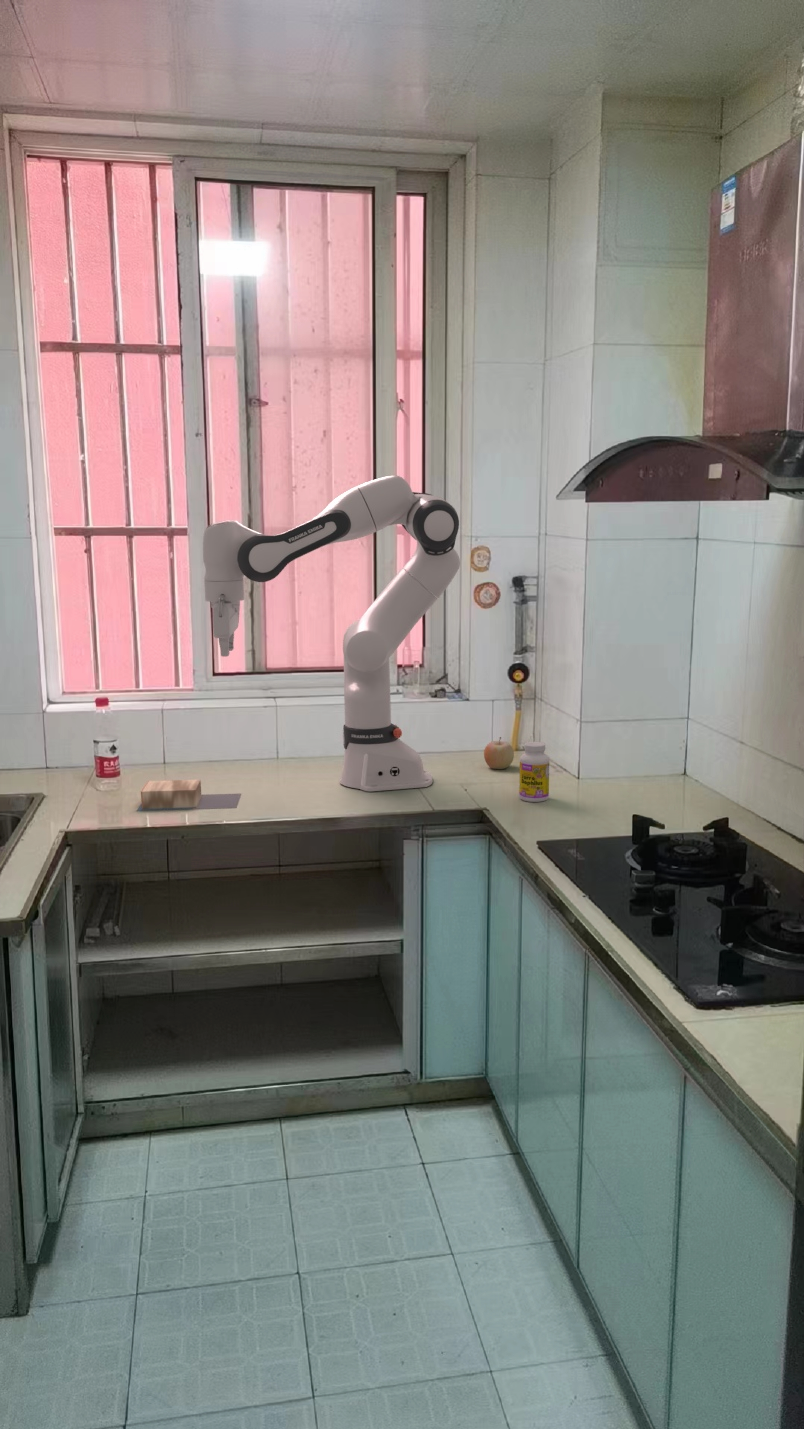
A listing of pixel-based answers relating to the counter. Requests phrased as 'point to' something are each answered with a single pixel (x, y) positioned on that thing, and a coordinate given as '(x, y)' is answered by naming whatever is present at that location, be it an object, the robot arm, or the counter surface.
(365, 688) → the robot arm
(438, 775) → the counter surface
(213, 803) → the rubber mat
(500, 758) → the fruit
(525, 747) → the supplement bottle
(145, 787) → the wooden block
